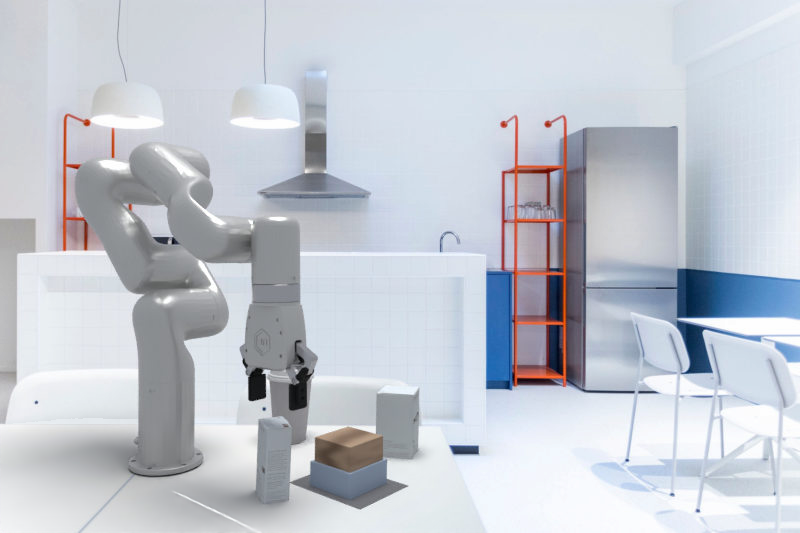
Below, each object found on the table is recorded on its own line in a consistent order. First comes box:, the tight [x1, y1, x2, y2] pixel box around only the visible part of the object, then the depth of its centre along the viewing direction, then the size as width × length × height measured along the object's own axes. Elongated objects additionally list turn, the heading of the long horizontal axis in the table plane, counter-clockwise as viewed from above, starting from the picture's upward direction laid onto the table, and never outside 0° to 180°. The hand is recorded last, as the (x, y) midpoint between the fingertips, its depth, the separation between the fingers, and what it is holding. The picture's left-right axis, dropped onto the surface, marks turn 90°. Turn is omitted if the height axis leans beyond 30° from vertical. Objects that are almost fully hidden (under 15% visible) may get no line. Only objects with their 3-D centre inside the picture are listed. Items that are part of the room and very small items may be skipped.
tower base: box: [309, 457, 388, 500], centre depth 101 cm, size 9×9×4 cm
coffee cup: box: [266, 370, 315, 445], centre depth 124 cm, size 10×10×15 cm
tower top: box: [314, 426, 384, 473], centre depth 101 cm, size 8×8×4 cm
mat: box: [290, 474, 409, 510], centre depth 101 cm, size 16×12×1 cm
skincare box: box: [255, 416, 292, 505], centre depth 96 cm, size 6×4×12 cm
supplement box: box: [375, 384, 420, 460], centre depth 117 cm, size 7×7×13 cm
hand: (277, 404), depth 95 cm, fingers open, 9 cm apart
